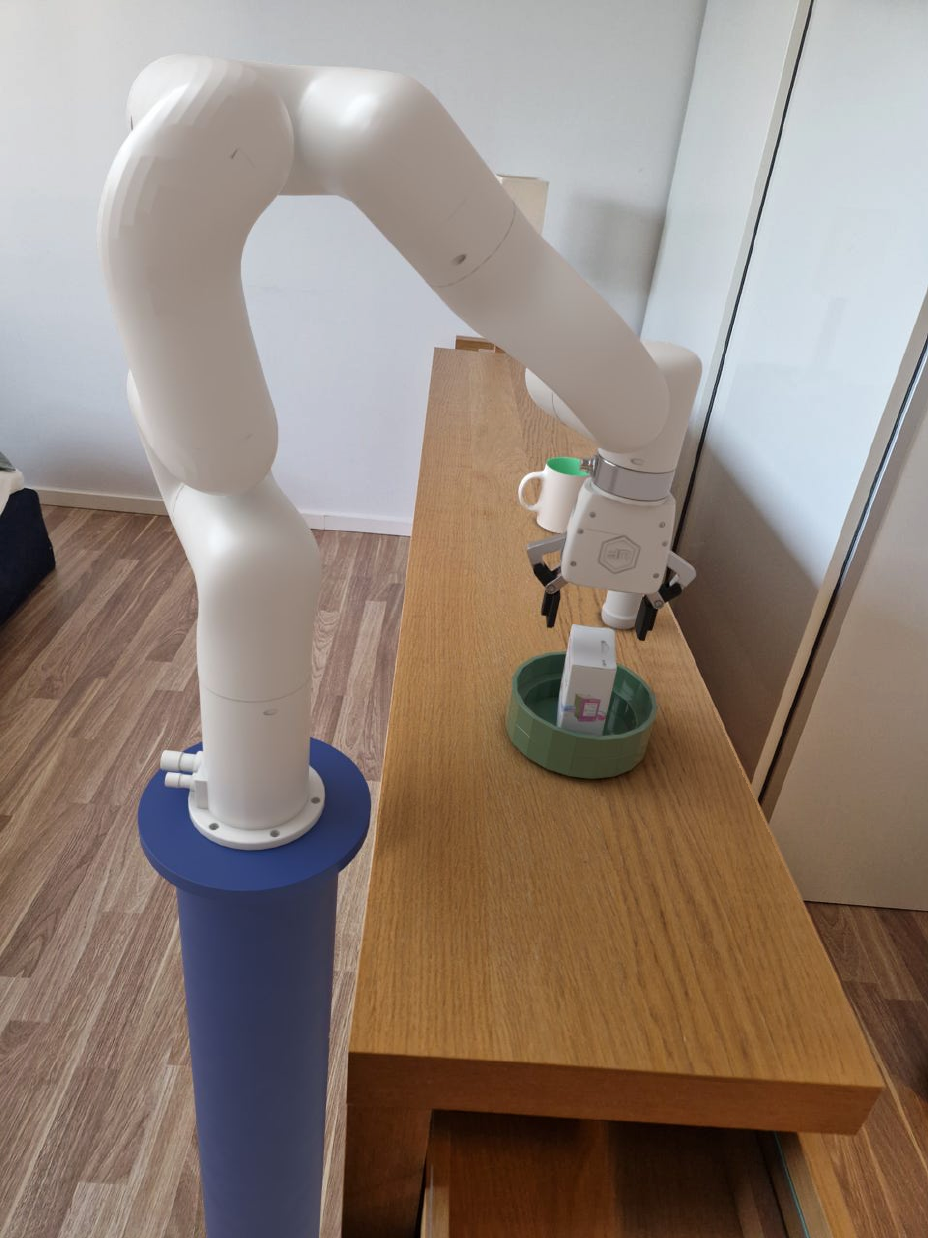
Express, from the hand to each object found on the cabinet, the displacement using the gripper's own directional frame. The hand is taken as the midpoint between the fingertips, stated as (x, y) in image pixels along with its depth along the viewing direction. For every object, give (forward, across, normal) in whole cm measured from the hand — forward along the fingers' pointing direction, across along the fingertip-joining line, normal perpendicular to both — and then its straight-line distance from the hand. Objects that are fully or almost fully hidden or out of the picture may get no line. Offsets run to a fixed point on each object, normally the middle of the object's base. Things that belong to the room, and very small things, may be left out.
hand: (594, 627), depth 92 cm
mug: (+14, 0, +58) cm, 59 cm away
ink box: (+14, +1, 0) cm, 14 cm away
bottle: (+14, +9, +28) cm, 32 cm away
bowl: (+15, +1, 0) cm, 15 cm away
